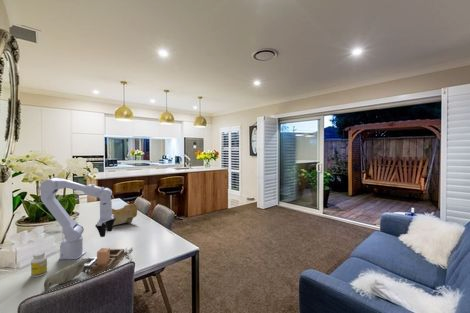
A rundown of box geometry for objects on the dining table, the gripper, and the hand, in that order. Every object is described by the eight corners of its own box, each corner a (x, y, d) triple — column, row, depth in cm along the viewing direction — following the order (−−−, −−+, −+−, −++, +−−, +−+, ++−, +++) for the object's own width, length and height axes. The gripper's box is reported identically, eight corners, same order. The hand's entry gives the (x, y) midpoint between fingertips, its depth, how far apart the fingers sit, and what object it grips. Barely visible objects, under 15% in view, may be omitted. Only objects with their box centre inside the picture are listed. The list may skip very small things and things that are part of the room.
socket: (72, 268, 106) (72, 265, 106) (82, 260, 114) (82, 257, 114) (89, 268, 107) (89, 265, 107) (98, 260, 115) (98, 257, 115)
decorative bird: (42, 288, 91) (42, 271, 91) (85, 271, 105) (85, 256, 105) (46, 293, 88) (46, 275, 88) (90, 275, 102) (90, 259, 102)
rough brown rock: (137, 218, 184) (137, 201, 184) (137, 223, 168) (137, 204, 169) (105, 222, 174) (105, 203, 175) (102, 228, 159) (102, 207, 160)
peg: (96, 268, 105) (97, 252, 105) (101, 263, 109) (101, 248, 109) (105, 268, 106) (105, 251, 105) (109, 263, 110) (109, 248, 109)
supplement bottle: (28, 275, 100) (28, 254, 99) (42, 269, 105) (42, 249, 104) (35, 278, 98) (35, 257, 97) (49, 272, 103) (49, 251, 102)
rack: (87, 274, 102) (87, 267, 102) (108, 253, 122) (109, 248, 122) (107, 274, 103) (108, 267, 103) (125, 253, 123) (125, 248, 123)
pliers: (109, 261, 112) (120, 248, 126) (109, 264, 112) (120, 250, 126) (129, 260, 113) (138, 246, 128) (129, 263, 113) (138, 249, 128)
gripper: (106, 214, 116) (107, 239, 117) (119, 206, 130) (119, 228, 131) (92, 214, 115) (93, 239, 116) (106, 206, 130) (106, 229, 130)
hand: (106, 233), depth 123 cm, fingers open, 7 cm apart
